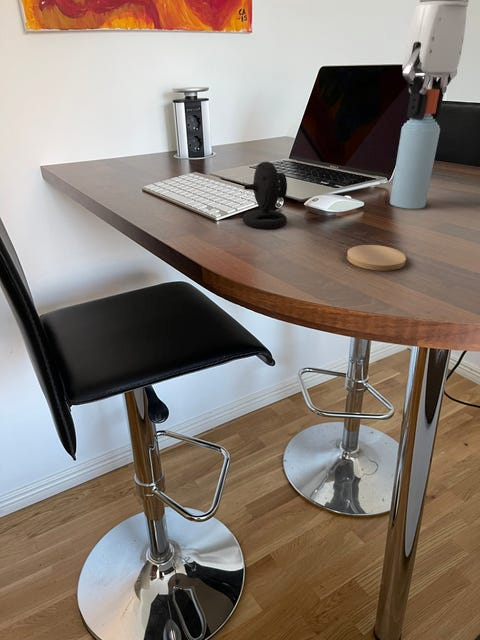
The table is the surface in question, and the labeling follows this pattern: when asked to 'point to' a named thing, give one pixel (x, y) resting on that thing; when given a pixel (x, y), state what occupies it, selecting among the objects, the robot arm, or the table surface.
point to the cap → (431, 101)
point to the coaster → (376, 257)
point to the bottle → (414, 162)
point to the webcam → (266, 197)
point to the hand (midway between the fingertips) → (423, 116)
